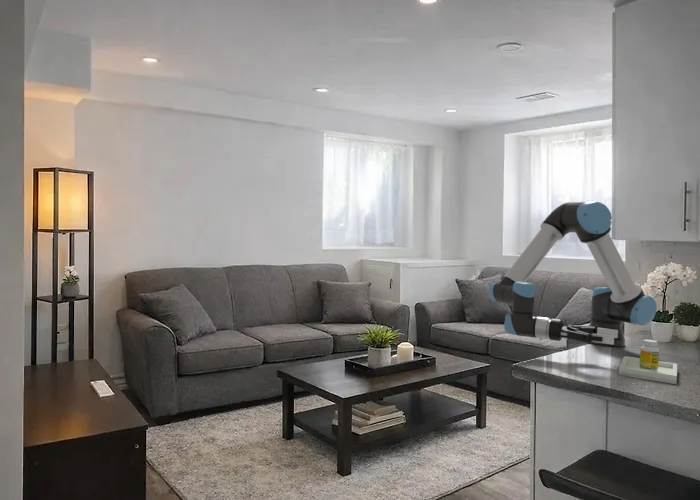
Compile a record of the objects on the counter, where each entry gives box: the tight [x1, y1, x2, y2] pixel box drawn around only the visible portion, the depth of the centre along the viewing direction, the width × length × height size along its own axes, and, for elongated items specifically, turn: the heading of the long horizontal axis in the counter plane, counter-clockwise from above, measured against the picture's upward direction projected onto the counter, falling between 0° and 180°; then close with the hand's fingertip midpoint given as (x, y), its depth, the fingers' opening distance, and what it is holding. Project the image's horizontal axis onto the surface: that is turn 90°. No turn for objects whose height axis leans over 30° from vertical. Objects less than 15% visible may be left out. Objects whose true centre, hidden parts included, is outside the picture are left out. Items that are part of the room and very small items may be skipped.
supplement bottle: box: [639, 339, 660, 372], centre depth 186 cm, size 5×5×10 cm
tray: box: [618, 355, 678, 385], centre depth 186 cm, size 20×16×2 cm
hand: (615, 337), depth 191 cm, fingers open, 13 cm apart
